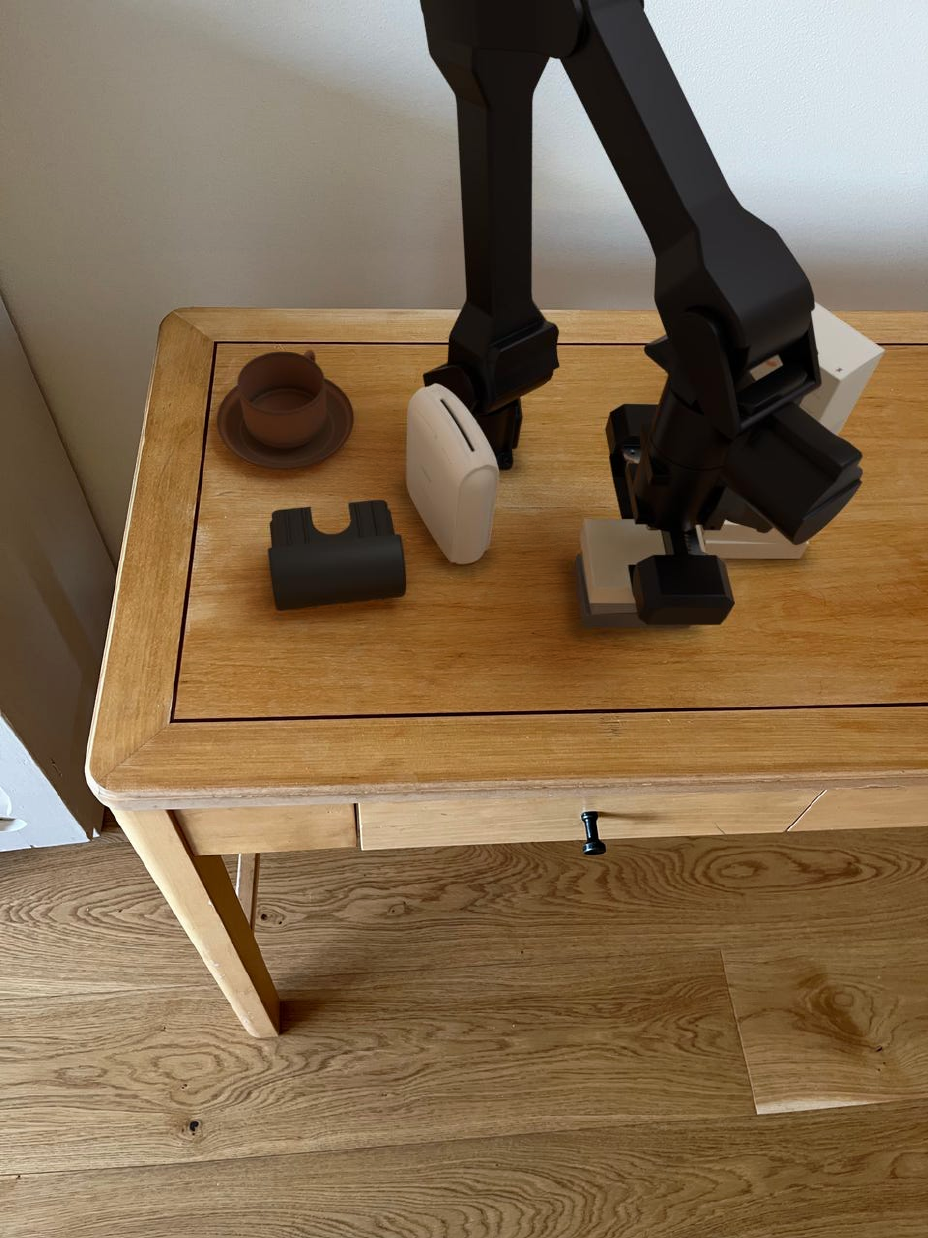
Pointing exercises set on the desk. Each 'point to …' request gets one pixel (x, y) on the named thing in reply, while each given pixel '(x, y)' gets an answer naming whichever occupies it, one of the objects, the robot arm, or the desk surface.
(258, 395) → the cup and saucer
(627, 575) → the white book
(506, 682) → the desk surface
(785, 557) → the white books
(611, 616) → the grey books
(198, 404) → the desk surface
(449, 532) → the photo printer
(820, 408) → the small box
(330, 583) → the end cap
